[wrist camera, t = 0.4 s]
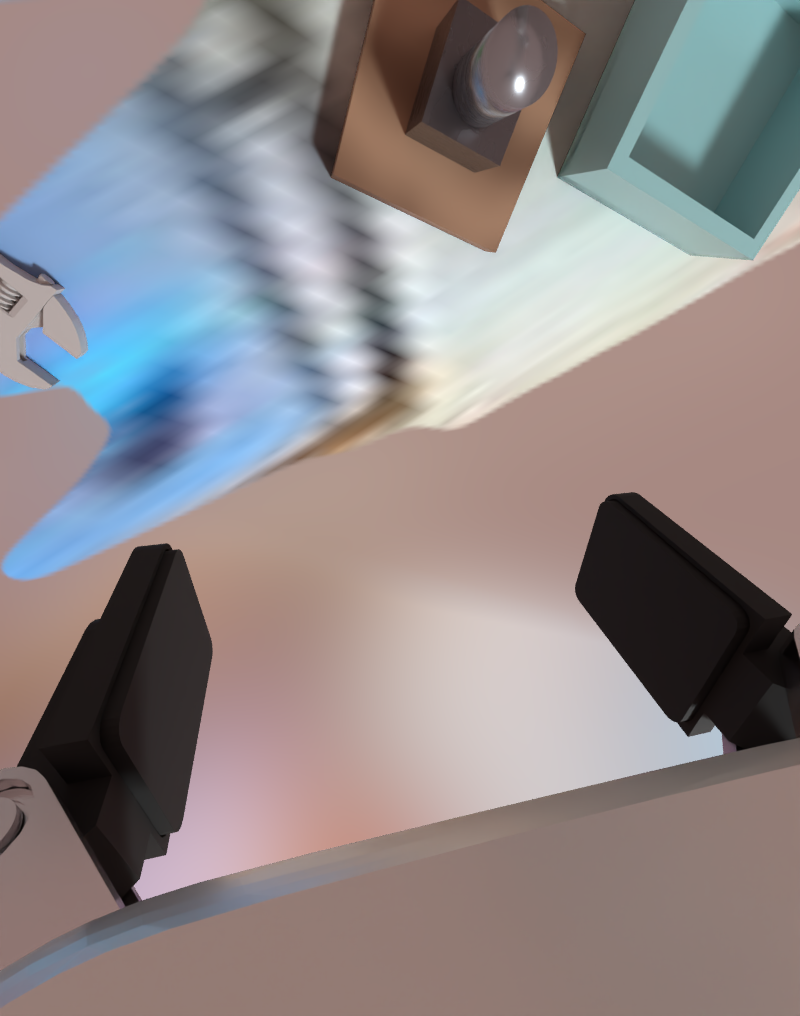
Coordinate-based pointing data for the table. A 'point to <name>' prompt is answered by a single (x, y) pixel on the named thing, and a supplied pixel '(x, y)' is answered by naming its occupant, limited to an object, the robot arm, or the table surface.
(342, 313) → the table surface
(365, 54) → the stud plate
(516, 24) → the square base knob
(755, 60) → the bin
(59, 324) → the adjustable wrench
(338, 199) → the table surface
